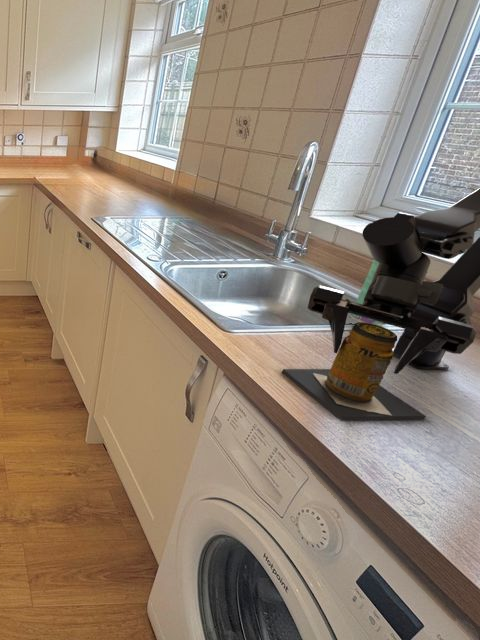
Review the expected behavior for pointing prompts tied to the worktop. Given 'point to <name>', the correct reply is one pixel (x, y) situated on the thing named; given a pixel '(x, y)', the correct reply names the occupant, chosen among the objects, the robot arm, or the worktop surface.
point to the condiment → (360, 367)
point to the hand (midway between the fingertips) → (364, 362)
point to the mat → (345, 413)
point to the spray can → (362, 296)
